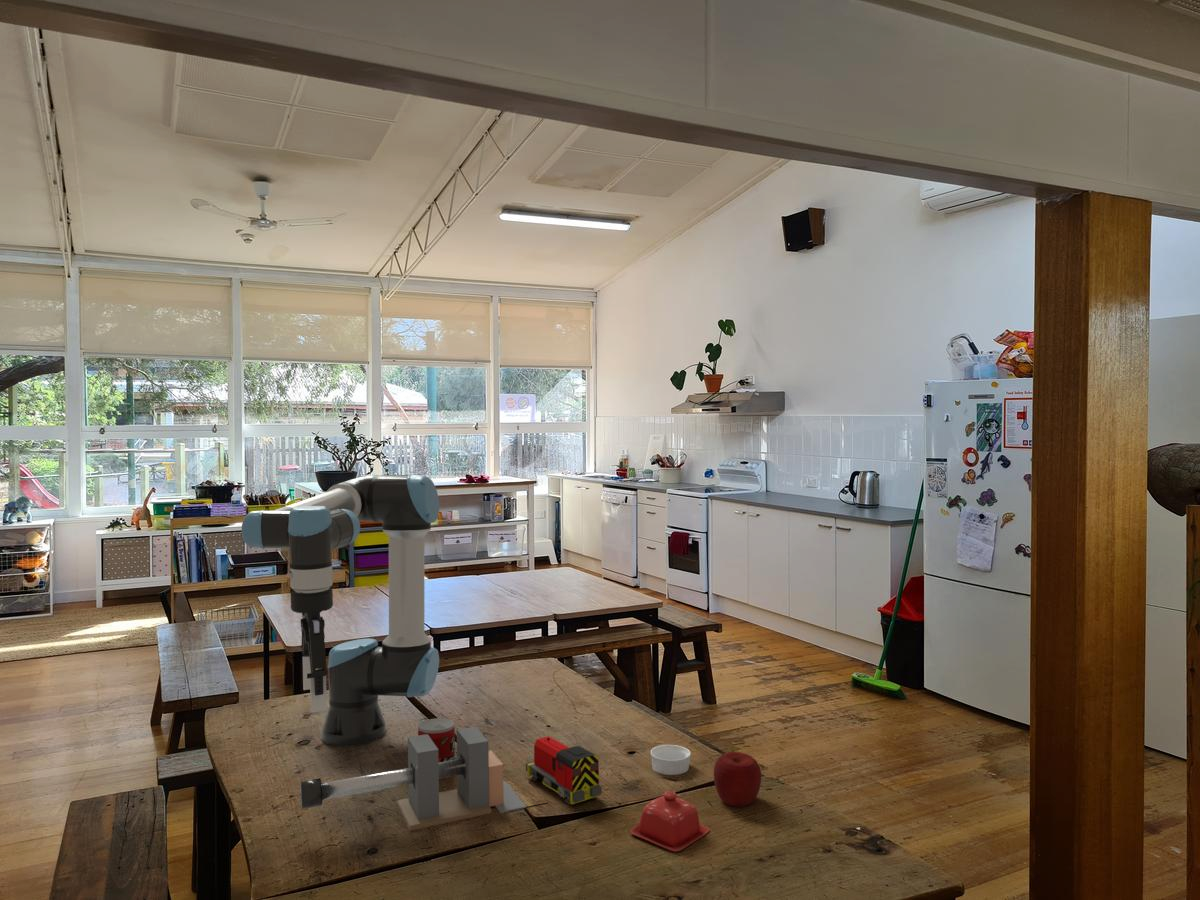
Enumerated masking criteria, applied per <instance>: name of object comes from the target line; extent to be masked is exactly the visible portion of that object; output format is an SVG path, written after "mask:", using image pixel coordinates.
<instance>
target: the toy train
mask: <svg viewBox="0 0 1200 900" xmlns="http://www.w3.org/2000/svg"><path fill="white" fill-rule="evenodd" d="M533 753H534V756H533V761H529V762H525V771H526V772H527V776H528V777H530V779H531V780H532V781H537V778H538V779H540V780H541V781H542V782H541V783H542V784H543V786H544V785H545V786H544V787H546V786H547V787H549V788H548V789H550V790H553V791H554V792H555V793H556V794H557V795H558V794H559V795H560V796H559V795H558V796H559V797H561V798H562V797H563V799H564V802H565V803H567V804H568V805H575V804H578V803H581V802H585V801H588V800H590V799H594V798H597V797H600V796H601V795H603V794H602V793H603V788H602V787H603V786H602V785H601V784H600V780H599V779H600V777H599V776H600V772H599V771H600V768H599V757H598V755H596V754H595V753H593V752H591V751H589V750H588V749H587V748H584V747H582V746H580V745H576V746H572V747H569V746H567V745H565V744H564V743H562V742H560V741H558V740H556V739H554V738H553V737H551V736H549V735H548V736H544V737H540V738H537V739H536V741H535V742H534V745H533ZM531 776H532V777H531ZM547 787H546V788H547Z"/></svg>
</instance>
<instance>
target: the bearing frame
mask: <svg viewBox="0 0 1200 900" xmlns="http://www.w3.org/2000/svg"><path fill="white" fill-rule="evenodd" d="M489 751H490V750H489V740H488V739H487V737H485V735H484V734H483V733H482V732H481V730H480V729H479V728H478V727H476V726H470V727H464V728H458V729H456V759H462V758H464V759H465V764H466V774H462V775H457V776H456V778H457V779H456V780H457V781H456V785H457V787H456V788H454V789H449V790H444V791H440V786H439V784H440V783H439V782H440V779H439V762H438V748H437V747H436V745H435V744H434V743H433V741H432V740H431V738H430V737H429V735H428V734H425V735H419V736H418V735H414V736H408V737H407V768H411V767H414V768H415V783H413V784H408V787H407V788H408V792H407V793H408V798H407V797H406V798H403V799H402V798H401V799H397V801H396V806H397V808H398V809H399V812H400V814H401V816H402V818H403V821H404V822H405V824H406V826H407V828H408V830H409V832H410V831H415V830H419V829H423V828H428V827H434V826H438V825H443V824H448V823H452V822H456V821H457V822H458V821H461V820H466V819H470V818H475V817H479V816H486V815H488V814H492V808H491V807H489Z"/></svg>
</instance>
